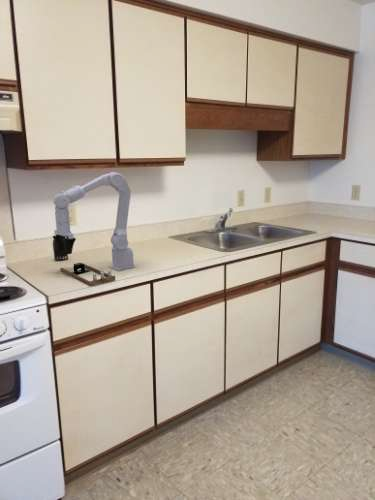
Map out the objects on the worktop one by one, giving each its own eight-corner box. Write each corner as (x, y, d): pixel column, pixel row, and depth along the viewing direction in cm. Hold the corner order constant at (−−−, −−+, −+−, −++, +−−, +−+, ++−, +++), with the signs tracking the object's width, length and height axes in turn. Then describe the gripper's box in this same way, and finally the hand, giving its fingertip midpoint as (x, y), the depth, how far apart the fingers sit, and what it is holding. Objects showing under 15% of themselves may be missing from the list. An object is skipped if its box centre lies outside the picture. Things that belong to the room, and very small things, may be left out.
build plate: (72, 278, 172) (71, 268, 171) (62, 275, 176) (61, 265, 175) (95, 271, 181) (94, 262, 180) (86, 269, 185) (85, 259, 184)
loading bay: (83, 266, 187) (83, 256, 186) (115, 280, 167) (115, 269, 165) (60, 271, 180) (59, 260, 179) (90, 286, 159) (90, 274, 158)
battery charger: (55, 262, 195) (53, 239, 192) (53, 260, 198) (51, 238, 196) (69, 260, 199) (68, 237, 196) (67, 258, 202) (65, 236, 199)
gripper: (46, 221, 174) (49, 250, 177) (61, 225, 164) (64, 256, 167) (61, 219, 179) (64, 248, 182) (77, 223, 168) (79, 254, 171)
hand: (65, 252), depth 175 cm, fingers open, 7 cm apart
